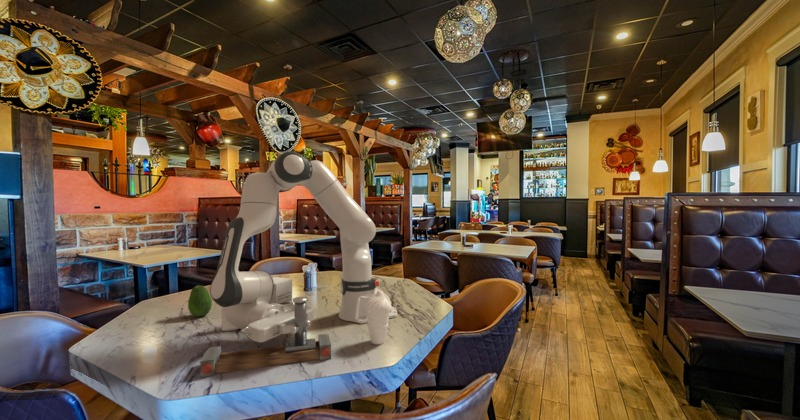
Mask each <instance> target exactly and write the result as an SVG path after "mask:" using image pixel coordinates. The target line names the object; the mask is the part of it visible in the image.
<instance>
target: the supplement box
mask: <svg viewBox="0 0 800 420" xmlns="http://www.w3.org/2000/svg"><path fill="white" fill-rule="evenodd" d="M271 277H272V276H271ZM272 279H273V282H274V292H273V296H272V299H271V302H270V304H271V303H275V304H277V303H284V302H293V279H292V278H288V277H278V276H273V277H272Z"/></svg>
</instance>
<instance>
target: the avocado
mask: <svg viewBox="0 0 800 420" xmlns="http://www.w3.org/2000/svg"><path fill="white" fill-rule="evenodd" d="M212 300H213V299H212V297H211V295H210V292H209V291H208V290H207V288H206V287H205V286H204V285H200V284H198V285H195V286H194V287H193V288H192V289H191V290H190V295H189V297H188V301H187V302H188V303H187V309H188V311H189V313H190V315H192V316H194V317H204V316H206V315H208V314H209V313H210V311H211V310H212V306H213V302H212Z"/></svg>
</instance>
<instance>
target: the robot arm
mask: <svg viewBox="0 0 800 420" xmlns="http://www.w3.org/2000/svg"><path fill="white" fill-rule="evenodd" d="M298 185H300V186H302V187H304V188H305V189H306V190H307V191H309V193H310V194H311V196H312V197H313V199H314V200H315V201H316V202H317V204H318V205H319V206H320V207H321V208H322V210H323V211H324V212H325V214H326V215H327V216H328V217H329V218H330V219H331V220H332V222H333V223H334V224H335V225H336V226H337V227H338V229H339V235H340V236H339V238H340V249H341V256H342V257H341V259H342V261H341V262H342V279H341V282H340V286H341V288H340V289H341V292H340V293H341V304H340V310H339V313H338V318H339V319H340V320H341V321H347V322H353V323H356V324H368V322H367V315H366V310H365V306H364V305H365V304H366V301H367V300H369V299H370V298H371V297H373V296H374V295H376V293H377V292H378V291H382V290H381V289H380V288H378V287H379V286H380V284H381V282H380V281H379V280H378V279H376V278H373V276H372V255H371V252H370V247H369V246H370V245H369V243H370V242H371V241H372V240H374V238H375V236H376V234H377V227H376V224H375V222H374V221H373V220H372V219H371V218H370V217H369V215H368V214H367V213H366V212H365V211H364V209H363V208H362V207H361V206H360V205H359V204H358V203H357V202H356V200H355V199H353V197H352V196H351V195H350V194H349V193H348V192H347V189H345V187H344V186H343V184H342V183H341V182H340V180H339V179H338V178H337V176H335V174H334V173H333V171H331V169H329V168H328V166H326V165H325V164H324V163H323V162H322V161H320V160H318V159H315V160H310V159H308V158H306V157H305V156H304V155H302V154H301V153H299V152H297V151H285V152H282V153H280V154H279V155H278V156H277V157H276V158H275V159H274V160H273V161H272V162H271V165H270V166H269V168H268V169H267V170H266V172H261V171H259V172H258V171H257V172H253V173H250V174H248V175H247V176H246V178H245V180H244V183H243V187H242V191H241V197H240V208H239V212H238V214H237V216H236V217H235V218H233V219H232V220H231V221H230V222H229V224H228V226H227V230H226V233H225V236H224V240H223V244H222V247H221V248H222V249H221V252H220V256H219V261H218V264H217V268H216V271H215V274H214V277H213V278H212V281H211V283H210V288H209V295H210V297H211V300H213V301H214V303H215V304H216V305H218V306H220V307H221V308H223V307H227V308H226V311H225V315H226V318H227V320H228V321H229V323H231V324H232V325H233V326H236V327H238V328H239V329H241V330H240V333H241V334H243V335H246V336H247V338H249V339H250V340H252V341H253V342H254V341H255V342H256V343H265V342H268V341H270V340H272V339H275V338H276V337H278V336H280V335H285V334H292V335H293V334H294V335H295V333H297V332H298V331H299V330H298V329H299V327H298V326H296V325H295V320H294V302H293V301H292V302H284V303H277V304H275V303H271V304H270V302H271V299H272V296H273V292H274V282H273V279H272V275H271V274H270V273H269V272H268V271H265V270H250V271H240V270H239V267H240V262H241V257H242V254H243V253H242V252H243V248H244V245H245V242H246V241H247V240H249V238H251V237H253V236H255V235H258V234H261V233H264V232H266V231H267V230H269V229H271V227H272V226H273V225H274V224H275V221H276V219H277V214H278V213H277V212H278V196H279V194H280V193H285V192H288V191H290V190H292V189H293V188H296V186H298ZM383 293H384V295H385V298H386V299H387V300H388V301H389V302H390V304H391V310H390V312H389V313H390V314H389V319H392V318H397V317H398V310H397V309H396V308H395V307H394V306H392V302H391V299H390V297H389V296H388V295H387V294H386V293H385V292H383ZM314 312H315V311H314V308H313V307H311V306H307V305H306V329H307V328H310V327H311V322H312V321H313V320H314V315H315V313H314Z"/></svg>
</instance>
